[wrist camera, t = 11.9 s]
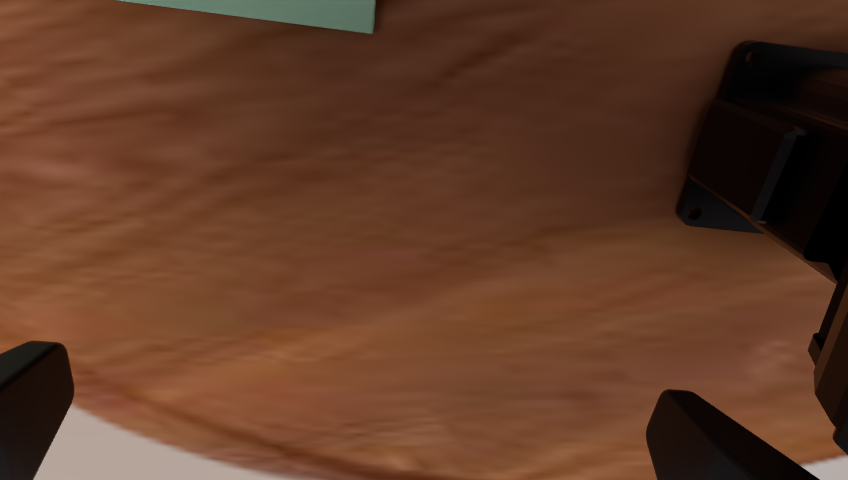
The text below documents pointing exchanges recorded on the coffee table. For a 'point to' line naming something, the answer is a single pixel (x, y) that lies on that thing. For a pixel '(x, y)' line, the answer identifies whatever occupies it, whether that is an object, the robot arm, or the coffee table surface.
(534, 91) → the coffee table surface
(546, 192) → the coffee table surface
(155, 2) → the board
